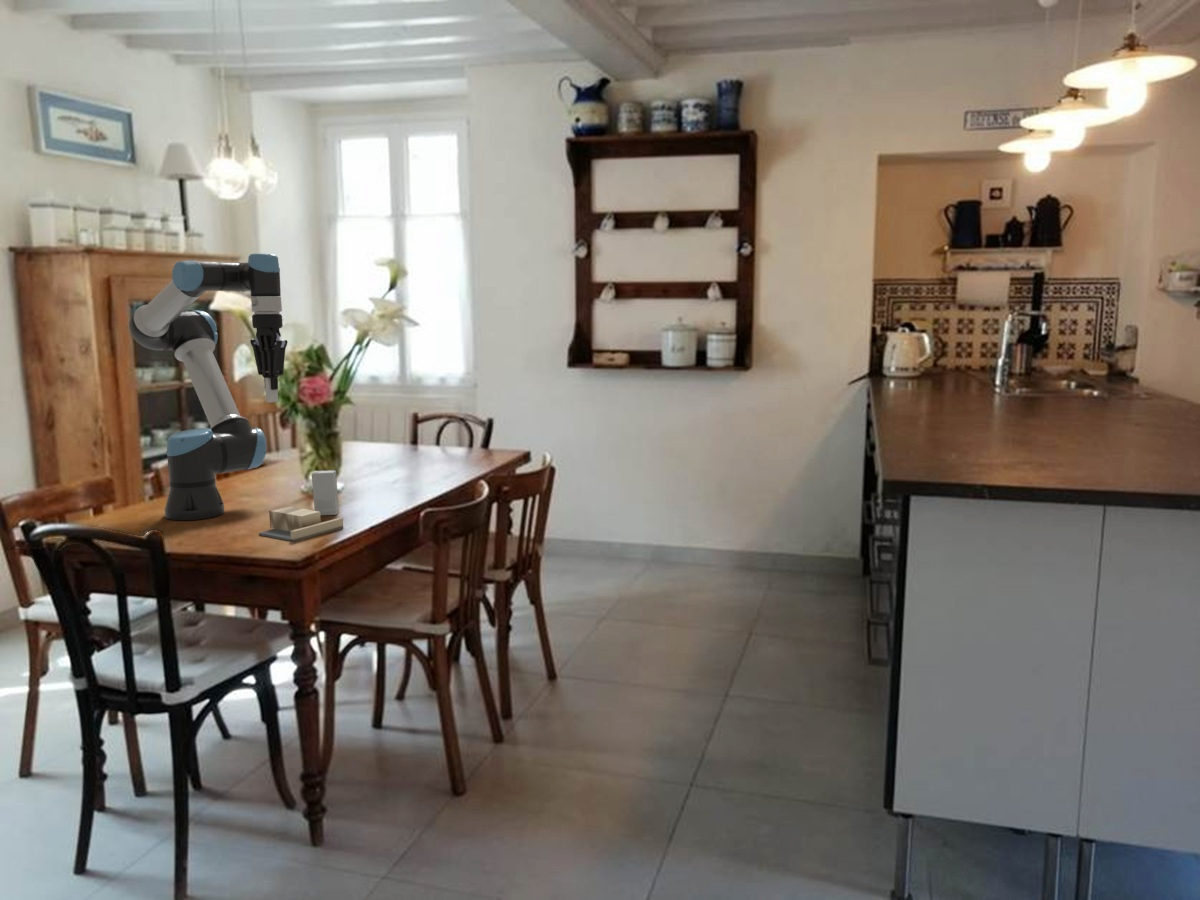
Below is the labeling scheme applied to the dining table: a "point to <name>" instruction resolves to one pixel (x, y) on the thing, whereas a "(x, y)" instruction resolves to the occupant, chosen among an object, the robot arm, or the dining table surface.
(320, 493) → the skincare box
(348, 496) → the dining table surface
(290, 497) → the dining table surface
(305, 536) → the slate mat
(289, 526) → the beech block
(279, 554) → the dining table surface
